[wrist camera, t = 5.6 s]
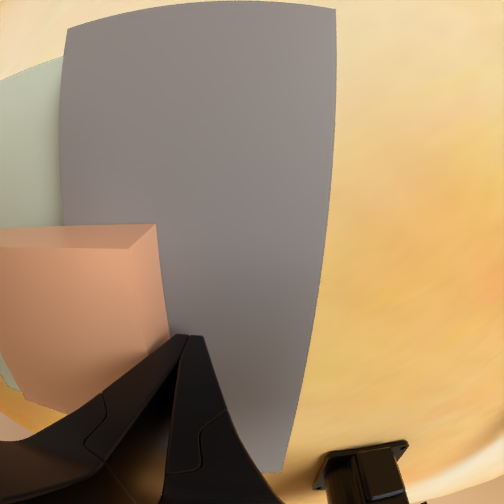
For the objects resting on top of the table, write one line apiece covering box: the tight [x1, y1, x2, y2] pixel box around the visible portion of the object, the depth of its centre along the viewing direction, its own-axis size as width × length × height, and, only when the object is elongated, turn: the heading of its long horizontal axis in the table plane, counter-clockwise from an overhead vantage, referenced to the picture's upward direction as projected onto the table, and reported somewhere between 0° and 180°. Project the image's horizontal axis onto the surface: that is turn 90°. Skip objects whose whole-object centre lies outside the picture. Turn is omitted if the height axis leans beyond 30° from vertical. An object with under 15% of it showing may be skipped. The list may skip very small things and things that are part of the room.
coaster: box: [0, 224, 170, 415], centre depth 8 cm, size 7×7×2 cm
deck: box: [58, 1, 337, 473], centre depth 11 cm, size 20×8×3 cm, turn 178°
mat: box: [0, 56, 65, 392], centre depth 12 cm, size 20×12×1 cm, turn 178°
